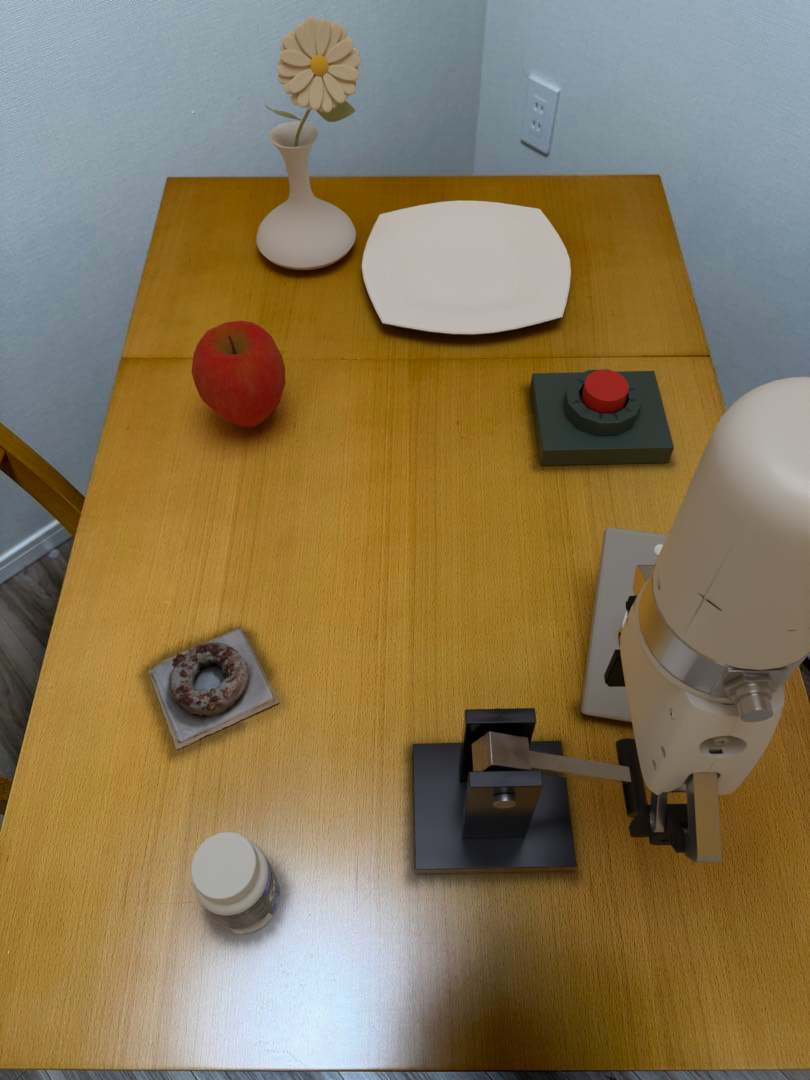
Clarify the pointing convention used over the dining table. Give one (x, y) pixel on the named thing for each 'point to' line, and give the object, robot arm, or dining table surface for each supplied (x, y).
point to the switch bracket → (489, 805)
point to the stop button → (605, 391)
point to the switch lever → (564, 765)
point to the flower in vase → (323, 85)
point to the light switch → (614, 615)
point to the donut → (211, 687)
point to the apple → (239, 372)
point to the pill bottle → (235, 882)
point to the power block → (599, 422)
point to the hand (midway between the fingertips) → (640, 752)
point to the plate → (466, 268)
